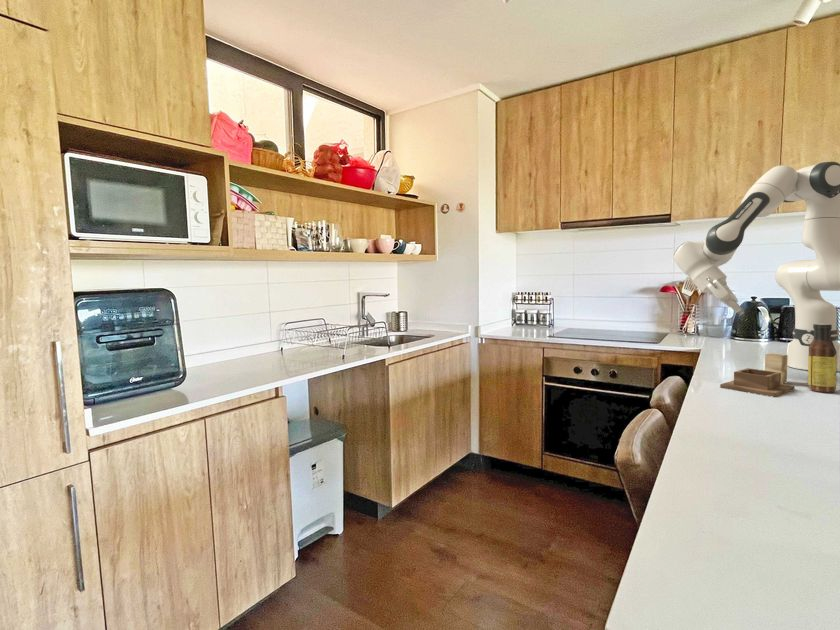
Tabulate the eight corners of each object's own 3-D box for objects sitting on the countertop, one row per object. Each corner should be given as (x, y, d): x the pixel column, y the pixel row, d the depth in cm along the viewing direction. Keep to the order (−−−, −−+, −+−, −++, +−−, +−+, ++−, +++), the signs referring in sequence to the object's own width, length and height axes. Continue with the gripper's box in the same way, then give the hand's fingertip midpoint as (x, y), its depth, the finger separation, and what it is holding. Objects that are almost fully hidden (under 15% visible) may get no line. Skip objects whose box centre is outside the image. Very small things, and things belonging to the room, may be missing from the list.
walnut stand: (741, 380, 146) (742, 365, 146) (794, 389, 134) (795, 373, 134) (720, 387, 139) (720, 371, 138) (774, 397, 127) (774, 379, 126)
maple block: (770, 380, 146) (771, 352, 145) (786, 382, 142) (787, 354, 142) (764, 382, 144) (765, 354, 143) (780, 384, 140) (781, 356, 139)
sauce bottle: (842, 393, 129) (845, 324, 127) (819, 393, 129) (823, 325, 127) (822, 387, 135) (825, 322, 134) (801, 388, 135) (803, 323, 134)
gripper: (714, 270, 145) (746, 303, 139) (724, 279, 160) (753, 309, 154) (696, 283, 148) (727, 315, 142) (707, 290, 164) (735, 320, 157)
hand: (740, 312), depth 148 cm, fingers open, 8 cm apart
